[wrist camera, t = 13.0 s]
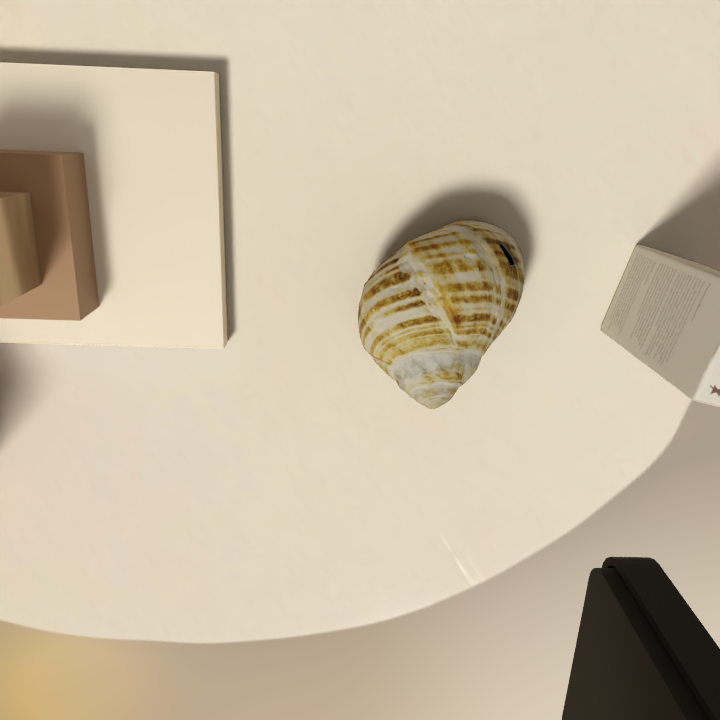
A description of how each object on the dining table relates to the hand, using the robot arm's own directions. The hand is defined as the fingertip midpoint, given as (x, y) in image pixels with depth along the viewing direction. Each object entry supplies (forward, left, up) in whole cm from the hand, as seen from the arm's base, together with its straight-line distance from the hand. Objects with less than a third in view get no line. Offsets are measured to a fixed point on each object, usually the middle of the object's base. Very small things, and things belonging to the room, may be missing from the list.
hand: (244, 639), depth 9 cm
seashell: (-7, +4, -34) cm, 35 cm away
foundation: (+16, -1, -33) cm, 37 cm away
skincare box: (-21, +3, -34) cm, 40 cm away
